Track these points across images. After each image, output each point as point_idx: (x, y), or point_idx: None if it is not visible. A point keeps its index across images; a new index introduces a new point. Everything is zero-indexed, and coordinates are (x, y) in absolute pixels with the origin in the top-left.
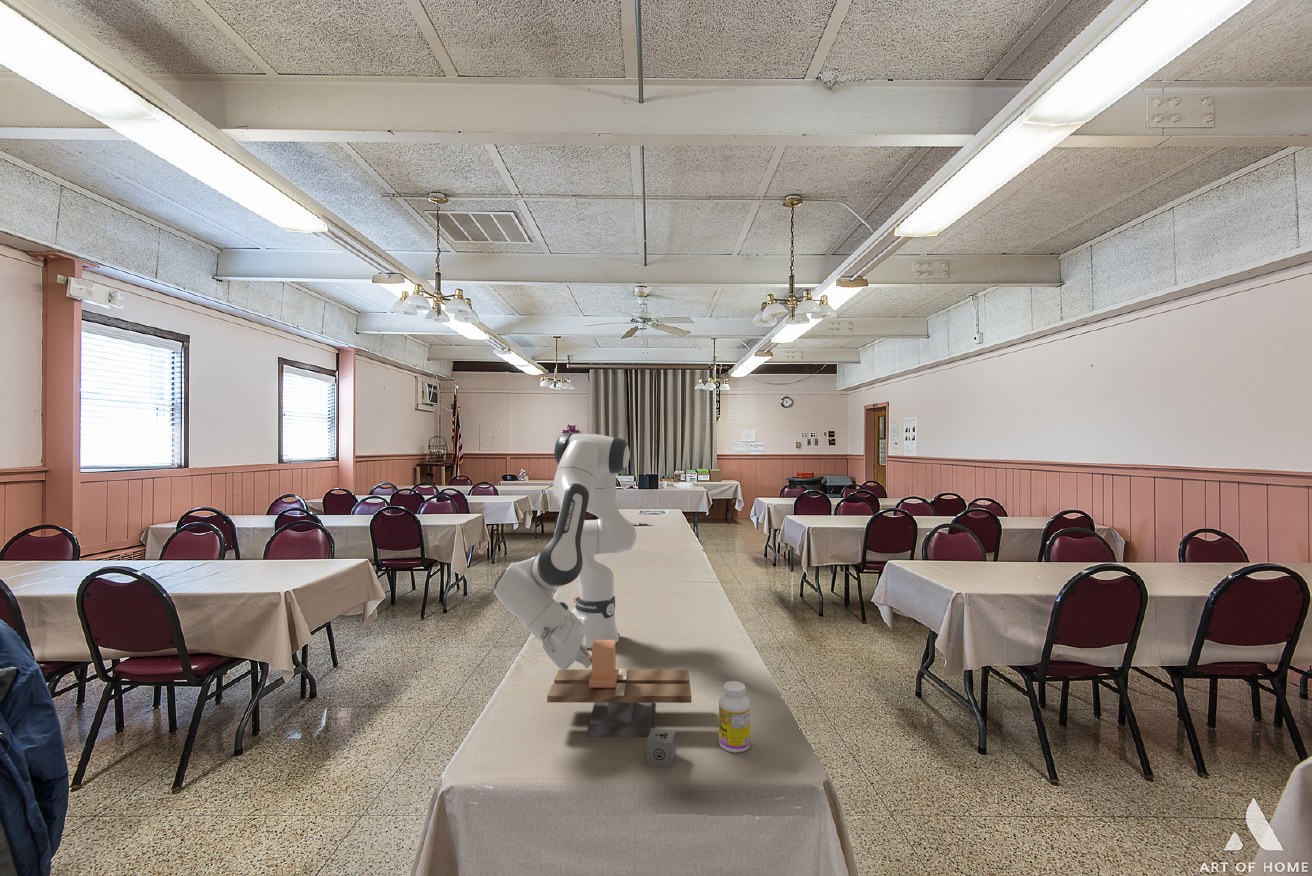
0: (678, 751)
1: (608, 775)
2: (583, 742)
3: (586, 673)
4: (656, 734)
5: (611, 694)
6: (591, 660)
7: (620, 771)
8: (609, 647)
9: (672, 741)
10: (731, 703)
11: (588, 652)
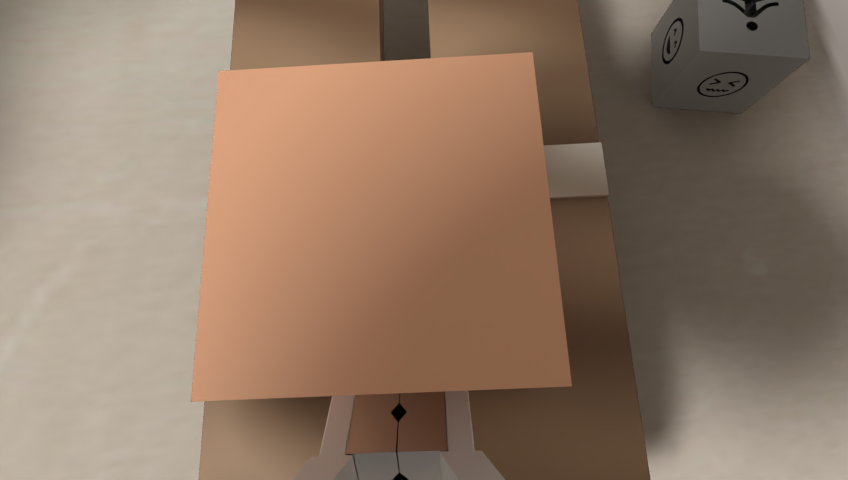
0: (634, 24)
1: (834, 235)
2: None
3: (273, 448)
4: (746, 28)
5: (592, 217)
6: (427, 394)
7: (799, 197)
8: (527, 107)
9: None
10: None
11: (308, 461)
